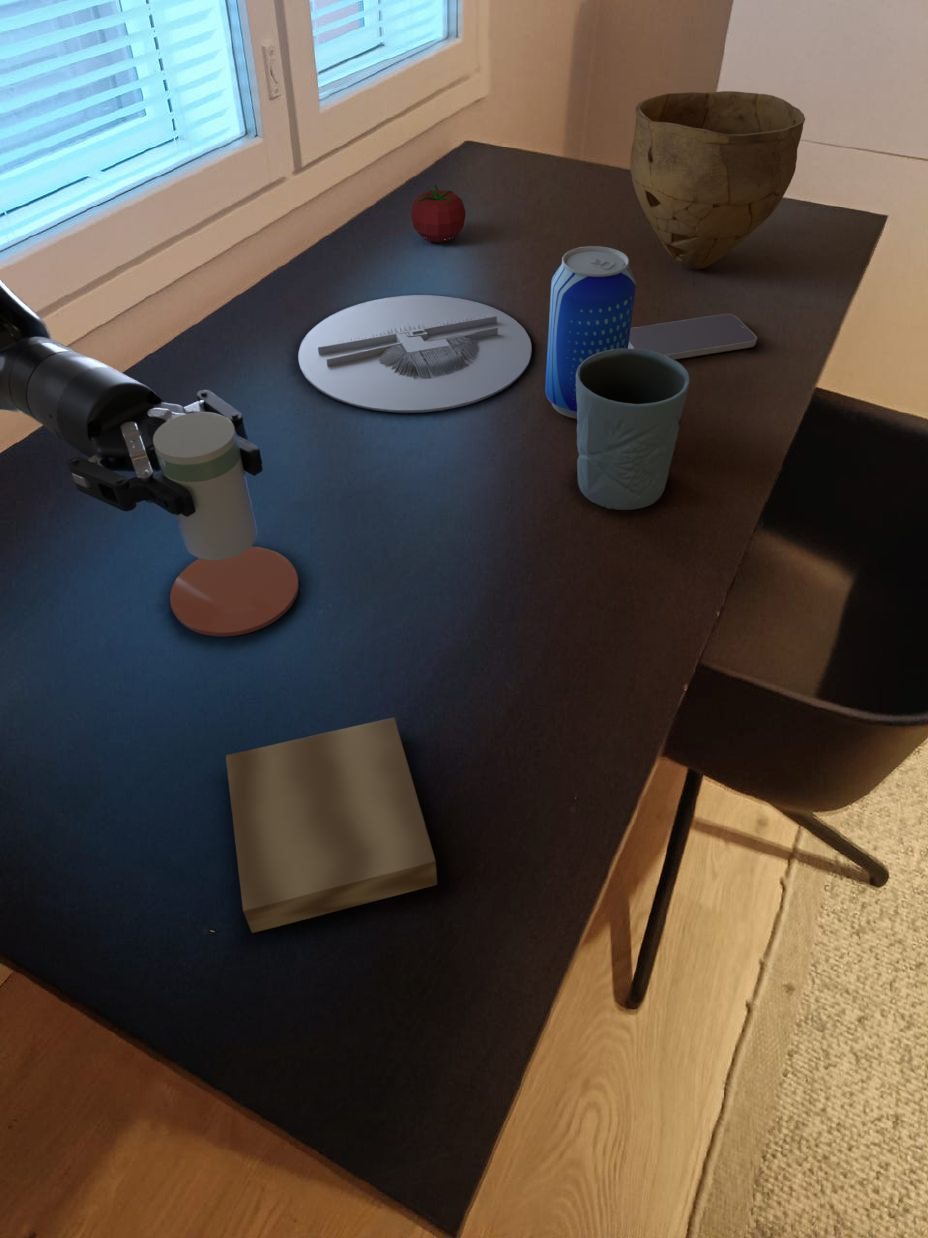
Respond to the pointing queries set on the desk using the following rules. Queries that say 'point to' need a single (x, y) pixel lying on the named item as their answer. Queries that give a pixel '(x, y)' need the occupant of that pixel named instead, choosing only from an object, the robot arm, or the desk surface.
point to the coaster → (234, 593)
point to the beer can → (586, 317)
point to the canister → (208, 483)
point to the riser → (326, 824)
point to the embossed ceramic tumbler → (627, 425)
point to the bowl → (712, 167)
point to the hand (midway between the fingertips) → (224, 483)
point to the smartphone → (693, 336)
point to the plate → (415, 353)
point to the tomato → (438, 215)
